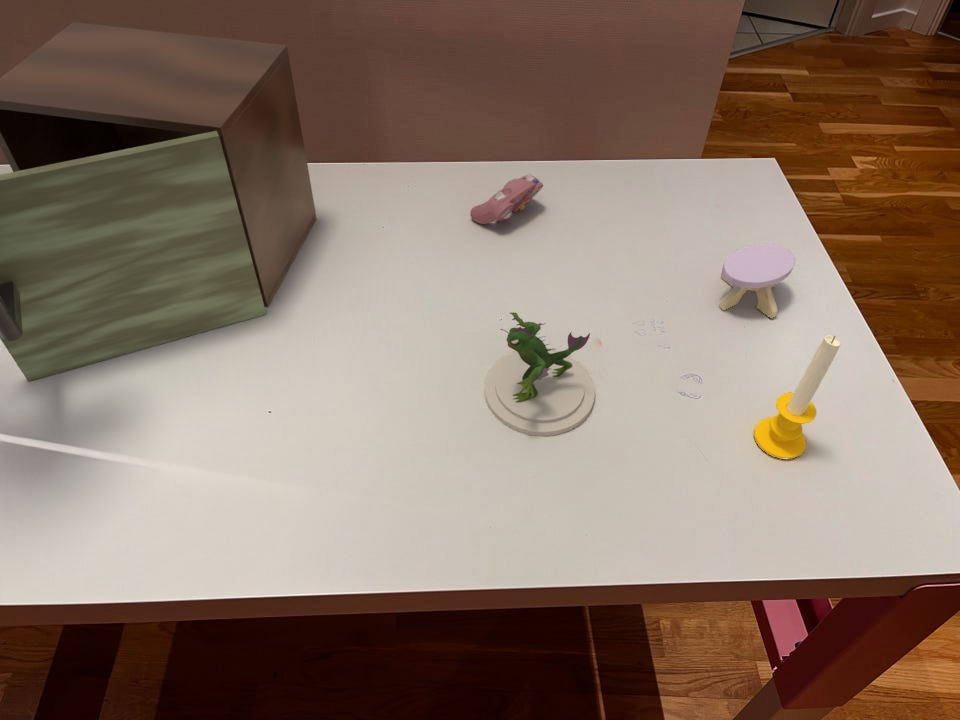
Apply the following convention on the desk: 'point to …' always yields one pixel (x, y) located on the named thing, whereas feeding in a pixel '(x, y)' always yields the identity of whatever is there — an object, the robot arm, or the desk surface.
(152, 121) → the cupboard
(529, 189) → the pink toy car
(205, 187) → the cupboard door
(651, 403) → the desk surface
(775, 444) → the candle
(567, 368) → the monster figurine
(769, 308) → the toy table
